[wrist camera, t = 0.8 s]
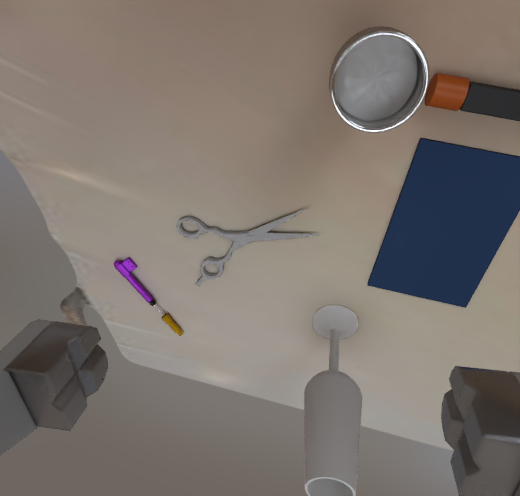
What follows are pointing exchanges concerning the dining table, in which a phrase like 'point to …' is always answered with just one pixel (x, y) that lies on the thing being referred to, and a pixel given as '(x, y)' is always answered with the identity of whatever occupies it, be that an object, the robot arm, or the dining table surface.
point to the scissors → (236, 239)
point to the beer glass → (378, 79)
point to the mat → (448, 222)
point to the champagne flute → (332, 414)
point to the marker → (473, 97)
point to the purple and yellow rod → (142, 289)
